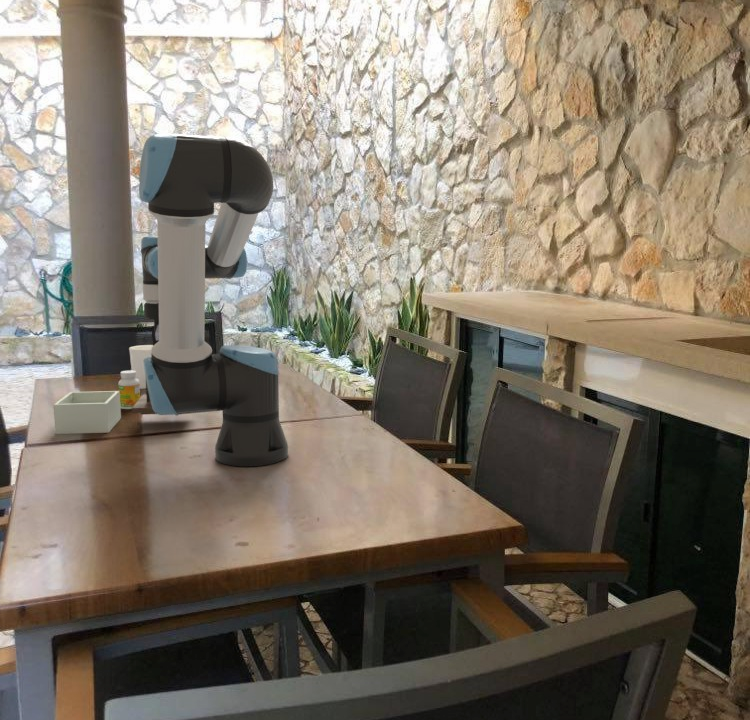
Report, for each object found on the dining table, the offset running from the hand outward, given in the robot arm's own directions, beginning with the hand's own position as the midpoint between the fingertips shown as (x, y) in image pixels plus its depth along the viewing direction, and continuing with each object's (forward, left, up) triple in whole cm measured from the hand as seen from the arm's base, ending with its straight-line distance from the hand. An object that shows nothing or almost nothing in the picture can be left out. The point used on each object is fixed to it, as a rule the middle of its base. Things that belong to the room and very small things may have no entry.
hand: (164, 397), depth 183 cm
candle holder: (+47, +12, -7) cm, 49 cm away
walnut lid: (0, 0, -2) cm, 2 cm away
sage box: (0, +18, -7) cm, 19 cm away
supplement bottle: (+19, +12, -7) cm, 23 cm away
